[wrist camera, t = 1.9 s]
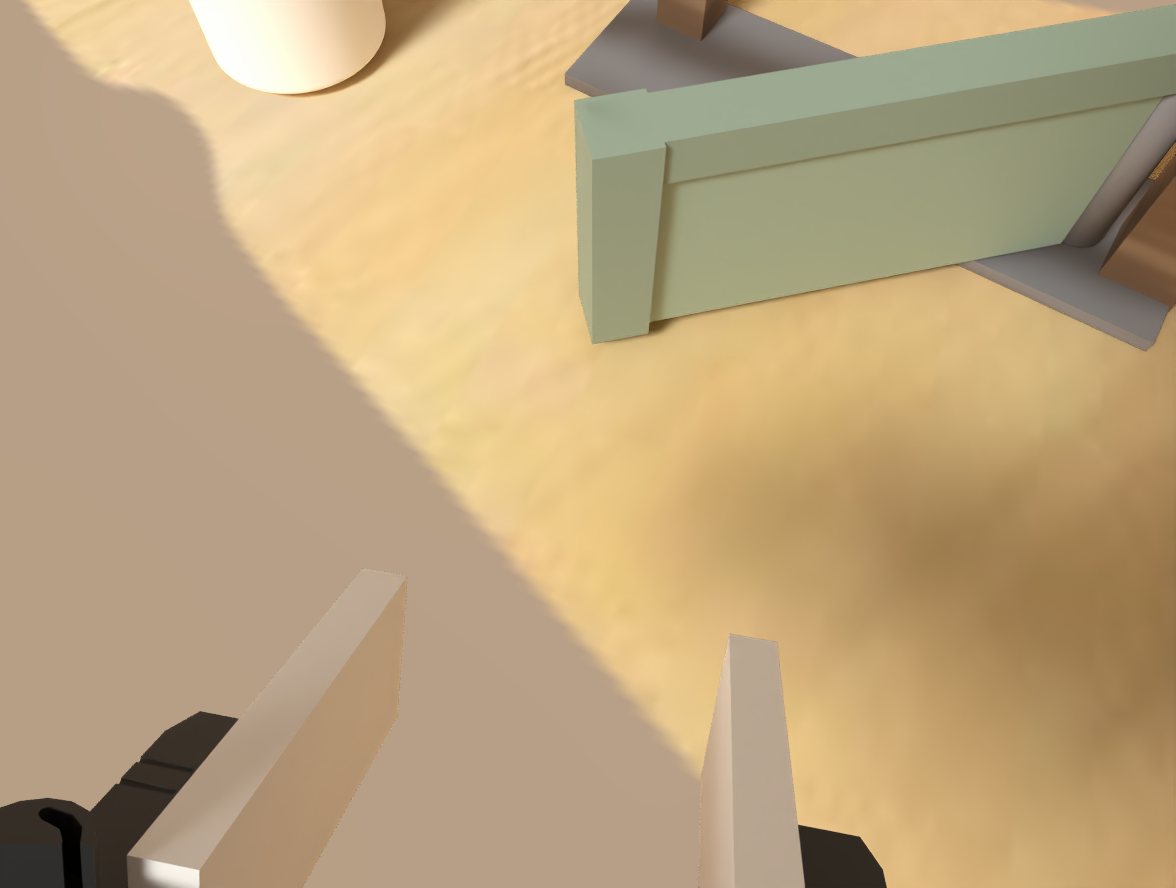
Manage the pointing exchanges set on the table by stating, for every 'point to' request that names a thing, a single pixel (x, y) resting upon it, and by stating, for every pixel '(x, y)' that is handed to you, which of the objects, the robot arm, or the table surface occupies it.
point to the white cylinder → (291, 40)
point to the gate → (866, 166)
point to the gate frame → (756, 46)
